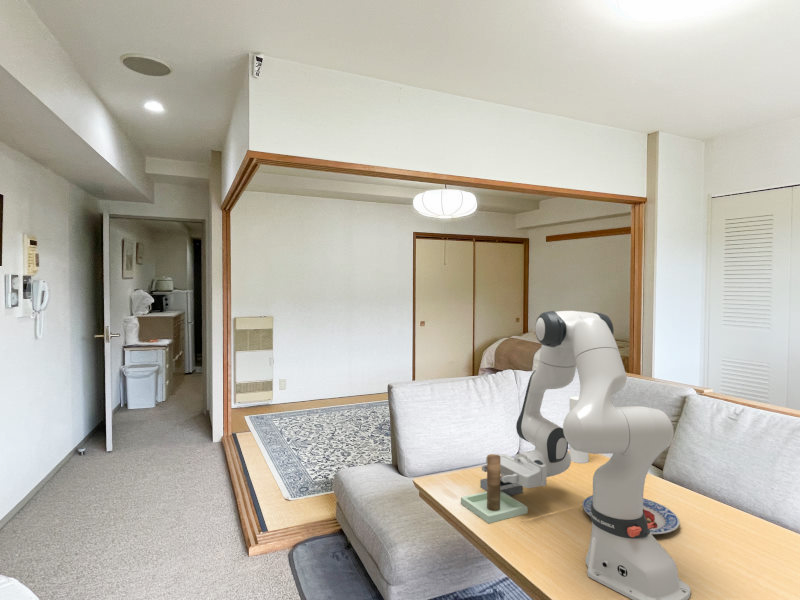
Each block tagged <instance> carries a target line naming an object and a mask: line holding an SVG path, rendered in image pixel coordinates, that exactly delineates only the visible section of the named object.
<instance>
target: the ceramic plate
mask: <svg viewBox="0 0 800 600" xmlns="http://www.w3.org/2000/svg"><path fill="white" fill-rule="evenodd" d="M592 503H593V494H592V495H590V496H588V497H586V498H584V500H583V501H582V508H583V510H584V512H585V513H586V514H587V515H588V516H589V517H591V504H592ZM643 512H644V514H645V517H646V519H647V522H648V523H651V522H654V524H653V525H651V526H654V527H652V528H650V533H651V534H652V535H663V534H668V533H671V532H673V531H676V530H677V529H678V528H679V526H680V519H679V517H678V516H677V514H676V513H675V512H674V511H673V510H671V509H669V508H668V507H666V506H665V505H663V504H660V503H658V502H656V501H653V500H650V499H647V498H644V497H643Z"/></svg>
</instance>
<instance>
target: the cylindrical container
mask: <svg viewBox="0 0 800 600" xmlns="http://www.w3.org/2000/svg"><path fill="white" fill-rule="evenodd" d="M579 396H580V395H577V396H573V395H572V396H570V397H569V412H570V411H571V410H572V409H573V408H574V407H575V405H576V404H577V402H578V399H579ZM569 454H570V457H571V463H572V462H573V463H577V464H588V463H589V454H590V453H586V452H581V451H577V450H574V449H573V448H572V447H571V446H570V445H569Z"/></svg>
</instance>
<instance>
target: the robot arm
mask: <svg viewBox="0 0 800 600" xmlns="http://www.w3.org/2000/svg"><path fill="white" fill-rule="evenodd" d="M534 327H535V328H534V329H535V337H536V339H537V341H538V342H539V343H540V344H541V346H540V347H541V348H540V353H539V358H538V359H539V360H538V365H537V368H536V369H535V370H534V371H532V373H531V375H530V377H529V379H528V382H527V387H526V390H525V391H526V392H525V395H524V399H523V403H522V407H521V411H520V413H519V416H518V418H517V421H516V425H515V426H516V427H515V428H516V434H517V435H518V437H519V438H521V439H522V440H524V441H525V442H528V443H530V444H531V445H533V446H535V447H534V450H529V451H523V452H519V453H516V455H515V457H512V456H509V455H508V454H504V453H500V454H499V453H497V454H496V455H499V456H500V475H501V477H500V478H501V479H500V480H501V481H502V482H504V483H506V482H512V483H517V484H519V485H521V486H523V488H527V489H532V488H538V487H545V486H547V478H549V477H554V476H558V475H560V474H562V473H564V472H566V471H567V470H568V469H569V468H570V466H571V463H572V461H571V457H570V451H568V450H569V449H568V448H569V447H570V446H571V447H572V448H573V449H574V450H577V451H581V452H586V453H589V454H593V455H598V454H601V455H602V454H603V455H604V454H605V455H606V454H612V455H611V457H610V458H609V459H608V460H607V461H606V462H605V463H604V464H602V465H600V466H599V467H598V468H597V469H596V470H595V471H594V473H593V476H592V495H593V503H592V504H591V516H590V522H591V532H590V533H591V534H590V541H589V546H588V549H587V550H588V551H587V552H586V553H587V554H586V557H585V560H584V561H585V563H586V566H587V570H586V571H587V572H586V575H587V577H588V578H590V579H592V580H594V581H596V582H597V583H599V584H602V585H603V586H606V587H607V588H609V589H611V590H613V591H615V592H617V593H619V594H621V595H623V596H624V597H627V598H628V599H631V600H689V599H690V597H691V593H692V592H691V587H690V586H689V585H688V584H687V583H686V582H684V581H682V580H681V579H680V578H679V571H678V567H677V564H676V562H675V560H674V558H672V556H671V555H670V554H669V553H668V552H667V551H666V549H665V548H664V547H663V546H662V545H661V543H660V542H659V541H658V540H657V539H656V537H655V536H654V534H651V533H650V528H652V527H654V526H651V525H653V524H654V522H651V523H648V522H647V519H646V517H645V514H644V512H643V498H644V493H645V490H644V489H645V484H646V483H645V482H646V477H647V475H648V472H649V470H650V468H651V466H652V465H653V463H654V462H655V460H656V458H657V457H658V456H659V455H660V454H661V453H662V452H664V451H665V450H667V449H669V447H670V446H671V445H672V442H673V441H674V440H673V439H674V436H675V435H674V433H675V430H674V426H673V423H672V420H671V419H670V417H669V416H668V415H667V414H666V413H665V412H664V411H663V410H661V409H658V408H653V407H649V406H648V407H647V406H641V405H635V406H633V405H628V406H624V405H623V406H618V405H617V406H616V405H614V403H613V395H615V394H617V393H618V392H619V391H621V390H622V389H623V388H624V387H625V385H626V383H627V377H628V375H627V373H626V370H625V366H624V364H623V360H622V356H621V353H620V350H619V346H618V344H617V342H616V339H615V337H614V324H613V322H612V320H611V318H610V316H608V315H607V314H604V313H601V312H598V311H597V312H596V311H594V312H589V311H579V310H561V311H560V310H559V311H554V310H549V311H545V312H541V313H540V314H539V316H538V317H537V318H536V321H535V326H534ZM576 369H577V374H578V379H579V385H580V389H579V391H580V392H579V395H578V396H579V399H578V402H577V404H576V405H575V407H574V408H573V409H572V410H571V411H570V410H569V412H568V413H567V414H566V415H565V417H564V420H563V424H562V427H561V426H559V425H558V424H556V423H554V422H552V421H550V419H547V418H545V417H544V416H543V415H542V413H541V407H542V403H543V399H544V395H545V392H546V391H547V390H559V389H563V388H565V387H567V386H569V385H570V384H571V383H572V382H573V380H574V379H575V376H576ZM481 471H482V472H484V473H487V456H486V458H485V464H482V465H481Z"/></svg>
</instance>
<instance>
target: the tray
mask: <svg viewBox="0 0 800 600" xmlns="http://www.w3.org/2000/svg"><path fill="white" fill-rule="evenodd" d="M460 505H461V506H463V507H464V508H466V509H468V510H469V511H470V512H471V513H473V514H475V515H476V516H477V517H478V518H480V519H481V520H483V521H484V522H485V523H487V524H493V523H496V522H501V521H504V520H508V519H511V518H515V517H519V516H523V515H526V514H528V511H529V510H528V509H529V508H528V506H527V505H525V504H524V503H522V502H520V501H519V500H517V499H516V498H514V497H512V496H509V495H507V494H505V493H504V492H502V491H501V492H500V510H498V511H491V510H489V509H487V491H486V490H485V491H482V492H478V493H473V494H469V495H465V496H461V497H460Z"/></svg>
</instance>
